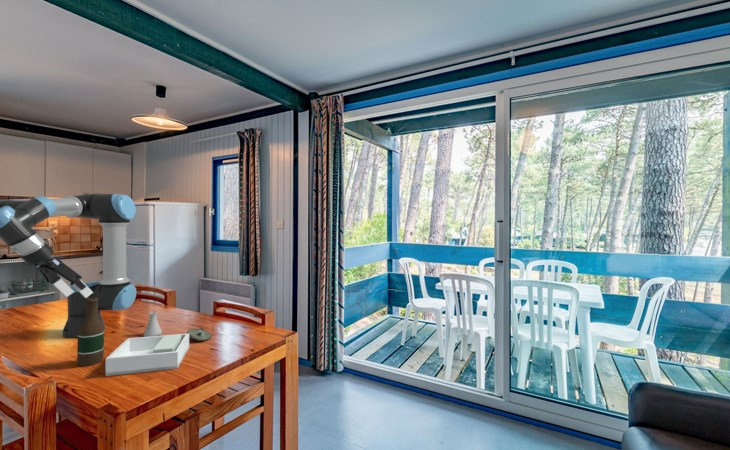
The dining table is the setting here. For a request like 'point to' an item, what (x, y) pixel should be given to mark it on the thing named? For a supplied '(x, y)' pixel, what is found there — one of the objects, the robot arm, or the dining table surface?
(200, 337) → the lid
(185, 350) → the tray
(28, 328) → the dining table surface
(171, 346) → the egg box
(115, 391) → the dining table surface
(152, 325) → the flask
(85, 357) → the beer bottle
